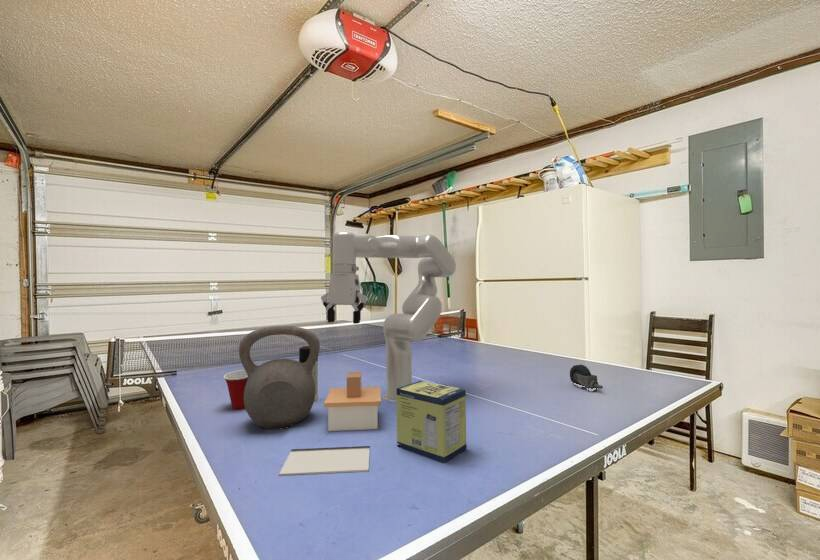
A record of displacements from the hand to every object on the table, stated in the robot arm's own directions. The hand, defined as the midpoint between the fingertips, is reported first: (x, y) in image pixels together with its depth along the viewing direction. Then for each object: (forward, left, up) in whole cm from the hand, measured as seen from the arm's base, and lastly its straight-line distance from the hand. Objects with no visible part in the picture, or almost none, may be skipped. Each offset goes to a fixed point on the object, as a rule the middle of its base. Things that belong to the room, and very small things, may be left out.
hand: (343, 322), depth 126 cm
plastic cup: (+37, -13, -31) cm, 50 cm away
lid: (-4, +8, -22) cm, 24 cm away
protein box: (-25, +27, -31) cm, 48 cm away
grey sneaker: (-94, -21, -31) cm, 101 cm away
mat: (+1, +28, -30) cm, 42 cm away
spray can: (+14, -16, -31) cm, 37 cm away
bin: (-4, +8, -30) cm, 32 cm away
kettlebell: (+19, +4, -31) cm, 36 cm away
